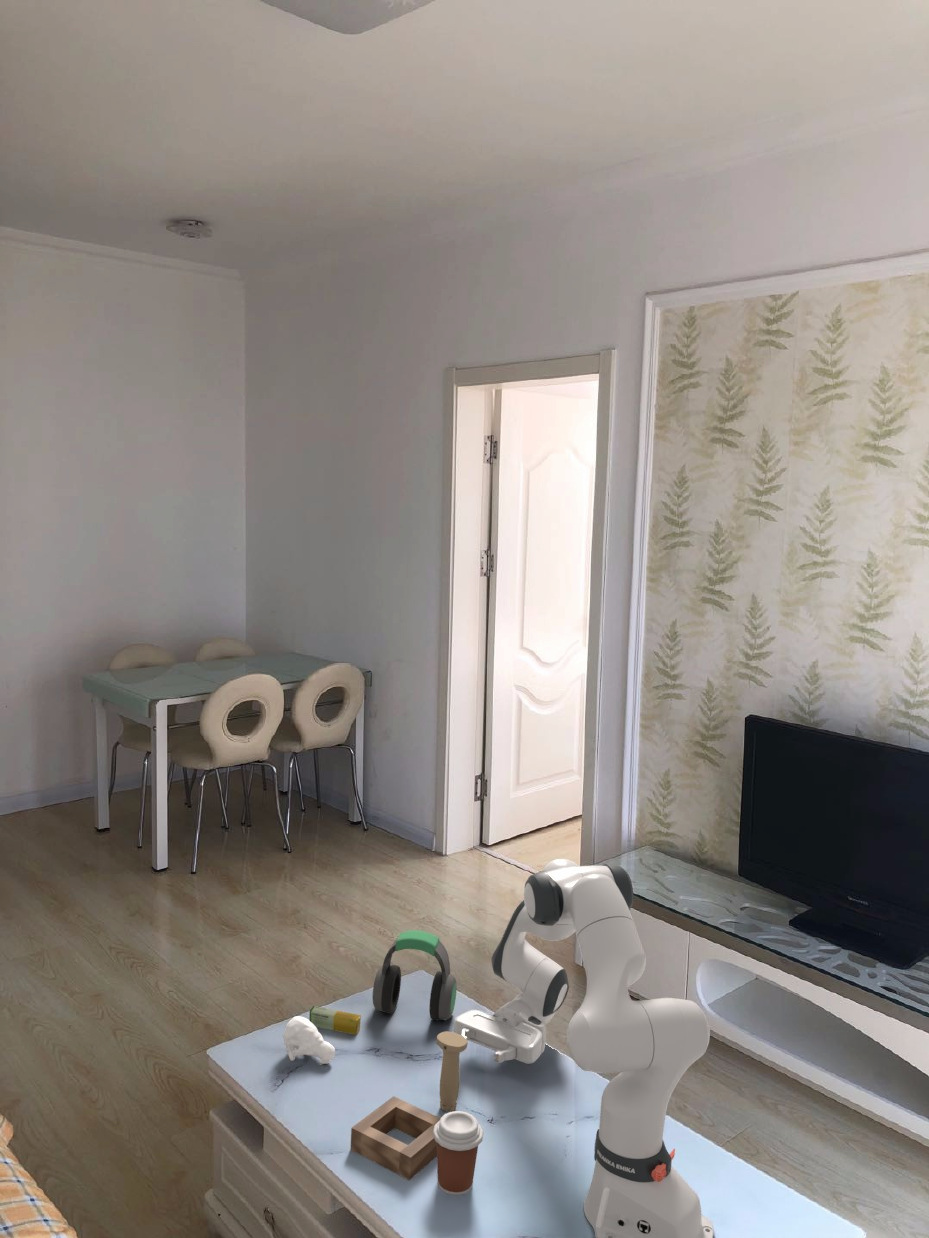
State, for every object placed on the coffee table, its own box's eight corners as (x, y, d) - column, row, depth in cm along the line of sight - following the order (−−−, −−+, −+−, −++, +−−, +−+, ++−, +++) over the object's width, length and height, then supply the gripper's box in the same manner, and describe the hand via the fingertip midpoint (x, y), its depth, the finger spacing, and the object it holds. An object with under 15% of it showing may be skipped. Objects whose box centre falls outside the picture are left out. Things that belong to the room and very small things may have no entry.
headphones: (456, 1008, 248) (461, 930, 245) (448, 1030, 237) (452, 949, 235) (381, 997, 251) (385, 920, 248) (369, 1019, 240) (373, 938, 238)
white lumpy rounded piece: (297, 1007, 226) (344, 1026, 222) (293, 1042, 228) (339, 1061, 223) (282, 1020, 221) (329, 1039, 216) (277, 1056, 222) (324, 1076, 217)
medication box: (308, 1026, 236) (308, 1010, 235) (312, 1020, 238) (313, 1004, 238) (356, 1036, 233) (357, 1019, 232) (360, 1030, 236) (361, 1013, 235)
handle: (454, 1119, 203) (458, 1049, 202) (428, 1107, 207) (432, 1038, 205) (467, 1108, 207) (471, 1039, 206) (442, 1096, 211) (446, 1028, 209)
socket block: (449, 1144, 195) (451, 1122, 195) (409, 1180, 185) (410, 1157, 184) (392, 1116, 203) (393, 1095, 202) (350, 1149, 192) (351, 1127, 192)
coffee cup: (419, 1183, 184) (423, 1121, 183) (453, 1160, 191) (456, 1100, 189) (457, 1208, 178) (461, 1144, 177) (490, 1183, 185) (494, 1122, 184)
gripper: (473, 996, 231) (438, 1020, 220) (552, 1026, 220) (520, 1053, 209) (472, 1022, 232) (437, 1048, 221) (550, 1053, 221) (518, 1081, 209)
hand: (478, 1050), depth 215 cm, fingers open, 8 cm apart
